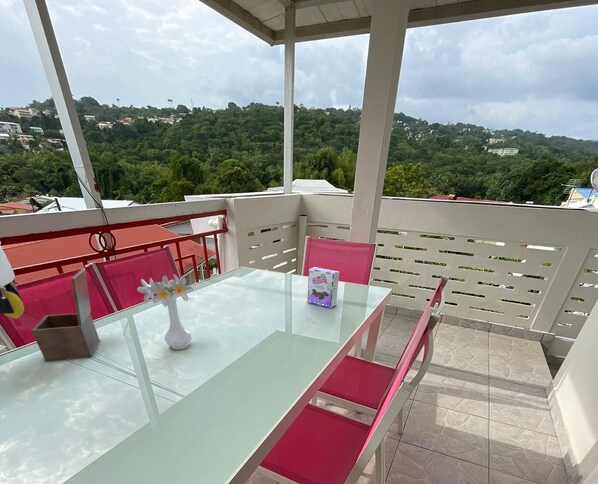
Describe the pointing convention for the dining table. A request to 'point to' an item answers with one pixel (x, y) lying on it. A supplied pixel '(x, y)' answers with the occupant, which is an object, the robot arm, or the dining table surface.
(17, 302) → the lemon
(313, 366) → the dining table surface
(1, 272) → the robot arm
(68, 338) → the box
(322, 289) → the candy box
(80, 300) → the breadbox lid
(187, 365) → the dining table surface
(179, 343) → the flower vase
